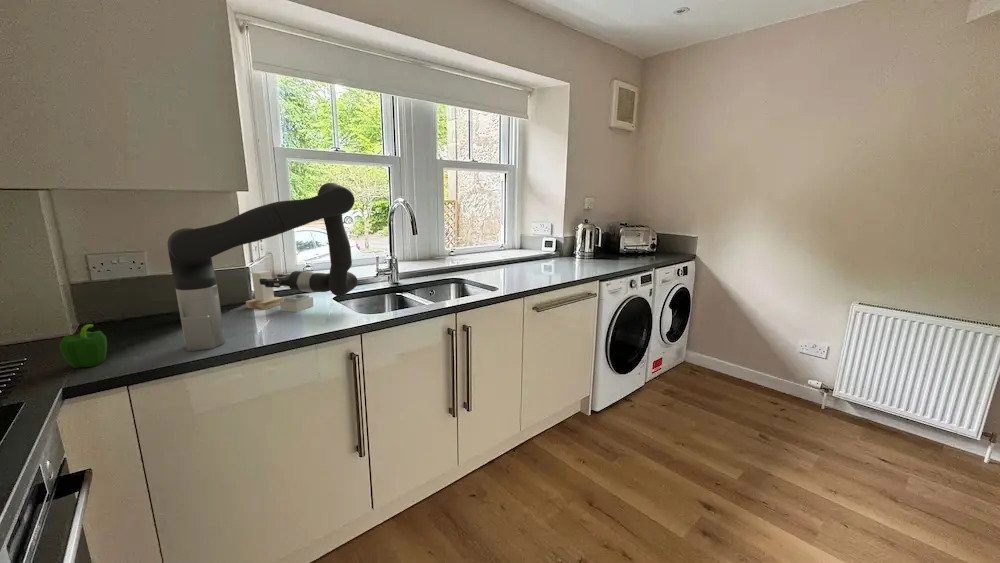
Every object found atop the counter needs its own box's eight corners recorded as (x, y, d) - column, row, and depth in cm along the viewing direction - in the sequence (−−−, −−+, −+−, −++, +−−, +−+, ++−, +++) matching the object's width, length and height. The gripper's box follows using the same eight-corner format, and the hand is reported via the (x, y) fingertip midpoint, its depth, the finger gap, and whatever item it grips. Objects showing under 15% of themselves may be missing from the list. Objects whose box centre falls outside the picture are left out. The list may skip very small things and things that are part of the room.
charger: (263, 301, 151) (260, 273, 149) (255, 300, 152) (251, 272, 150) (274, 298, 156) (271, 271, 154) (266, 297, 157) (262, 270, 155)
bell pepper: (79, 373, 94) (70, 333, 92) (57, 369, 97) (47, 330, 95) (121, 359, 102) (113, 323, 100) (99, 356, 105) (91, 320, 103)
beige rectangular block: (296, 312, 146) (295, 300, 145) (281, 310, 148) (279, 299, 147) (313, 305, 154) (312, 294, 153) (298, 304, 156) (297, 293, 155)
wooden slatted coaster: (283, 303, 158) (283, 297, 157) (265, 309, 149) (264, 303, 149) (265, 301, 160) (264, 296, 159) (246, 307, 151) (245, 301, 151)
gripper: (317, 268, 154) (282, 266, 158) (290, 275, 140) (252, 273, 144) (319, 287, 155) (284, 285, 159) (292, 295, 142) (255, 293, 146)
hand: (269, 279), depth 151 cm, fingers open, 8 cm apart
